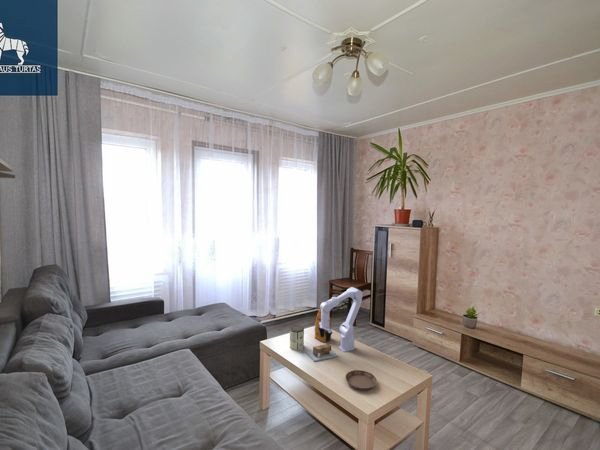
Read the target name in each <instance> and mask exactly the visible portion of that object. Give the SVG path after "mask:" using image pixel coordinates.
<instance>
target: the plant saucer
mask: <svg viewBox="0 0 600 450" xmlns="http://www.w3.org/2000/svg"><path fill="white" fill-rule="evenodd" d="M345 381H346V383H347V384H348V385H349V386H350V387H351V388H353V389H354V390H357V391H364V392H365V391H370V390H372V389H373V388H374V387H375V386H376V385H377V383H378V381H377V377H376V376H375V375H374V374H373V373H371V372H369V371H367V370H363V369H362V370H361V369H354V370H350V371H347V373H346V374H345Z"/></svg>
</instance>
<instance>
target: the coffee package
mask: <svg viewBox="0 0 600 450" xmlns="http://www.w3.org/2000/svg"><path fill="white" fill-rule="evenodd" d="M330 315H331V313H330V312H329V326H330V329H331V330H332V323H333V322H332V319H331V316H330ZM319 322H321V309H320V308H319V309H318V311H317V315H316V319H315V323H314V324H315V326H314V339H317V340H318V341H319V342H322V343H327V342H326V337H325V333H324V337H321V335H320V331H319V329H318V326H320V325H319ZM326 331H327V330H325V332H326ZM331 339H332V336H331V337H330V340H331Z"/></svg>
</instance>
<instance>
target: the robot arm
mask: <svg viewBox="0 0 600 450" xmlns="http://www.w3.org/2000/svg"><path fill="white" fill-rule="evenodd" d="M363 295H364V294H363V292H362V291H361V290H360V289H359V288H356V287H354V286H350V287H349V288H347V289H346V291H344V292H343V293H341V294H340V295H338V296H337V297H336V296H332V297H331V298H330V299H328V300H326V301H323V302H321V303H320V305H319V309H320V310H321V322H319V325H320V326H318V329H319V331H320V335H321V337H324V333H325V337H326V342H325V343H327V342H330V340H331V339H330V337H331V338H332V335H333V331H332V328H331V329H330V326H329V316H330V314H329V313H330V312H331V311H332V309H333V308H334V307H336V306H337V305H339V304H340V302H342V301H344V300H346V299H347V298H351V299H352V301H353V302H352V304H351V307H350V309H349V312H348V314H347V317H346V320H345V321H344V322H342V323H341V325H340V326H339V329H338V330H339V331H338V332H339V333H340V345H338V346H337V347H338V349H340V350H341V351H342V352H344V353H345V352H349V351H350V352H351V351H354V350H356V349H355V337H354V329H355V328H354V322H355V320H356V318H357V315H358V312H359V310H360V307H361V304H362V302H363ZM325 330H327V331H326V332H325Z"/></svg>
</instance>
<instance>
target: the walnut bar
mask: <svg viewBox="0 0 600 450" xmlns="http://www.w3.org/2000/svg"><path fill="white" fill-rule="evenodd" d="M331 349H332V345H330V343H325V344H322V345H321V344H320V345H316V346H313V347H312V351H313V354H314V356H315V357H317V356H318V353H320V356H322V355H326V354H329V351H331Z"/></svg>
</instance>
